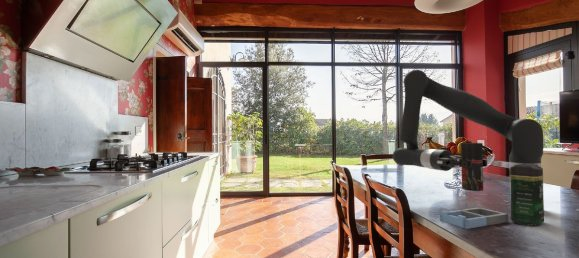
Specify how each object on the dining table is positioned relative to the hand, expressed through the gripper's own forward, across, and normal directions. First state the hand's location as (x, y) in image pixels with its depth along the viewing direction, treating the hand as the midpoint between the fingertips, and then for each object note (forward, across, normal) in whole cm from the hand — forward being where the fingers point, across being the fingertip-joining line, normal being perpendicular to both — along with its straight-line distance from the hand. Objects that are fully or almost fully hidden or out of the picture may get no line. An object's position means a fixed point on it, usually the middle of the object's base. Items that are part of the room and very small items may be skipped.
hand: (478, 163), depth 94 cm
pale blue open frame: (-2, -1, +19) cm, 19 cm away
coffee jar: (+6, +13, +19) cm, 24 cm away
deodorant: (-2, 0, +9) cm, 9 cm away
